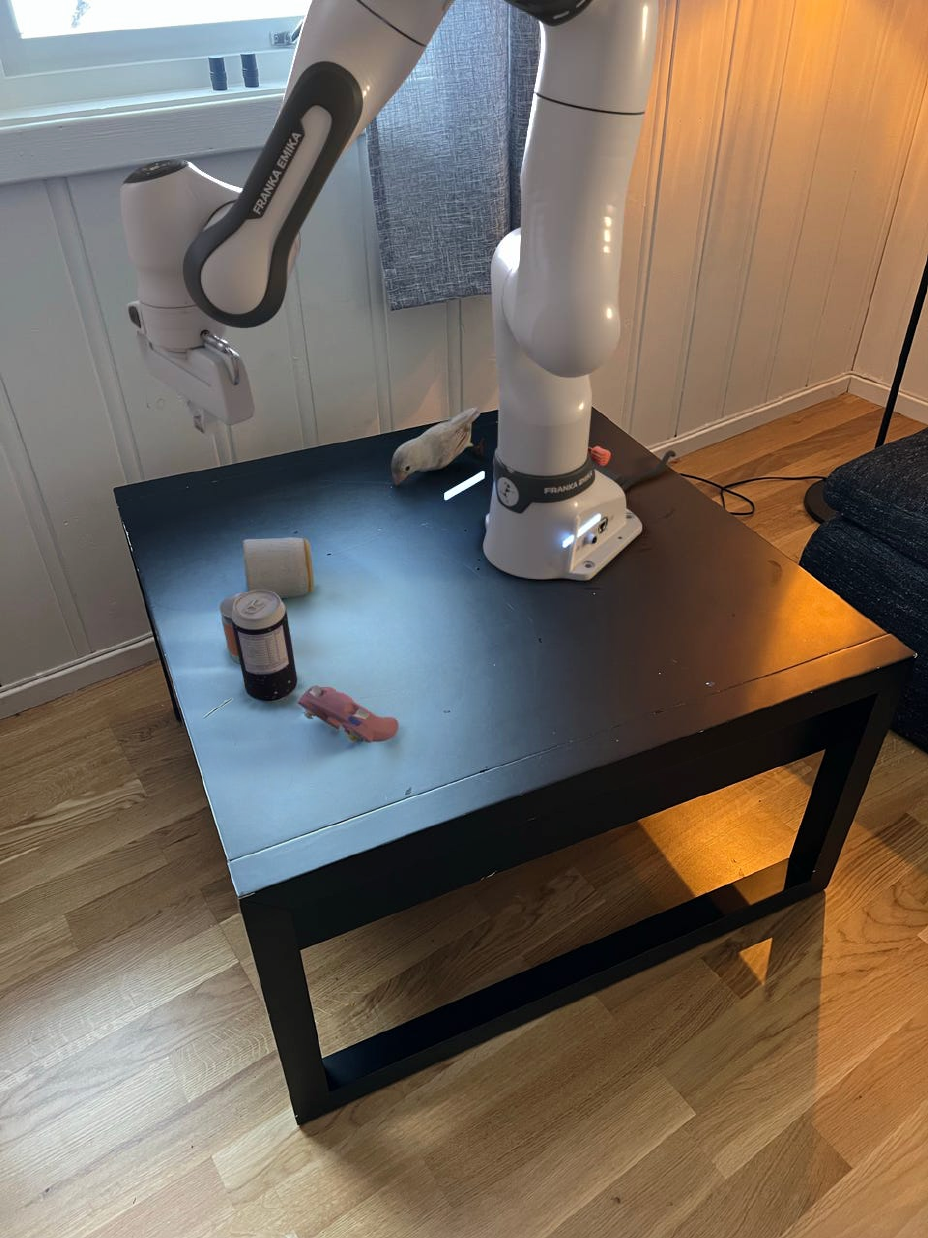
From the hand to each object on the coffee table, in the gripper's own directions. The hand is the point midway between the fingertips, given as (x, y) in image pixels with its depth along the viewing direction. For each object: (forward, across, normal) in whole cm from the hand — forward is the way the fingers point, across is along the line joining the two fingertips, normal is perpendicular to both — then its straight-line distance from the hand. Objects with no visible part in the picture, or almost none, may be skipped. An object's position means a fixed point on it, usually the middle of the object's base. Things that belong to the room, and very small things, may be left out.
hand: (206, 430), depth 114 cm
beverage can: (+17, -28, +11) cm, 34 cm away
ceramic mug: (+17, -12, 0) cm, 21 cm away
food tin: (+17, -20, +10) cm, 28 cm away
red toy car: (+17, -38, +8) cm, 43 cm away
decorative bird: (+17, -3, -34) cm, 38 cm away
